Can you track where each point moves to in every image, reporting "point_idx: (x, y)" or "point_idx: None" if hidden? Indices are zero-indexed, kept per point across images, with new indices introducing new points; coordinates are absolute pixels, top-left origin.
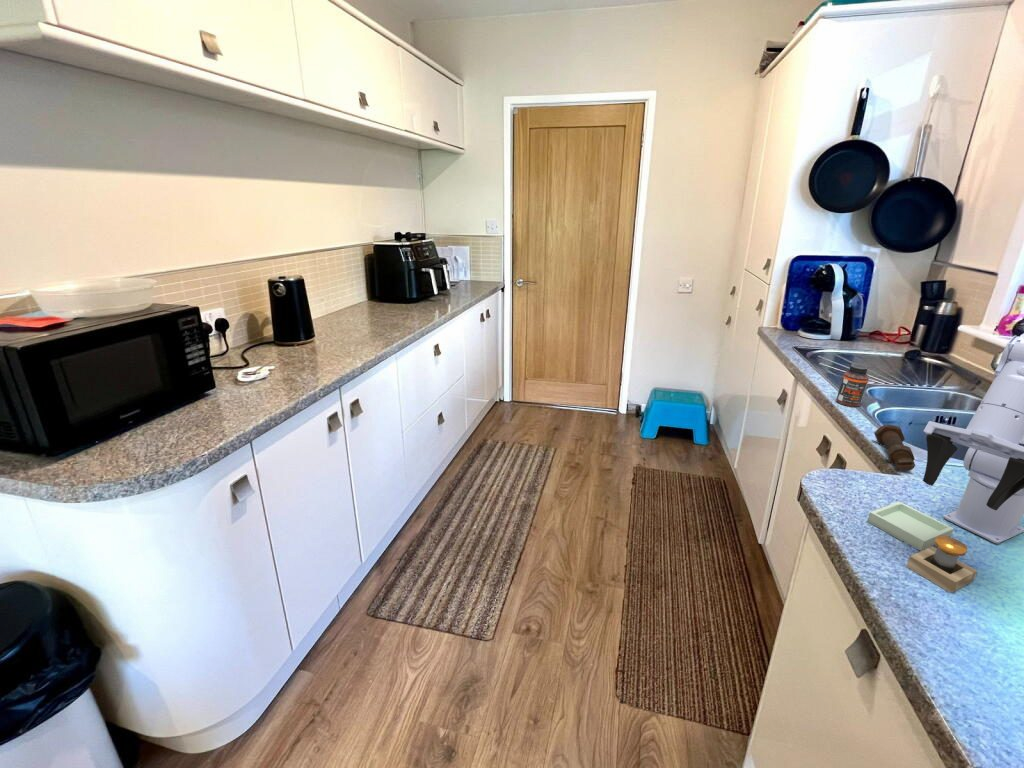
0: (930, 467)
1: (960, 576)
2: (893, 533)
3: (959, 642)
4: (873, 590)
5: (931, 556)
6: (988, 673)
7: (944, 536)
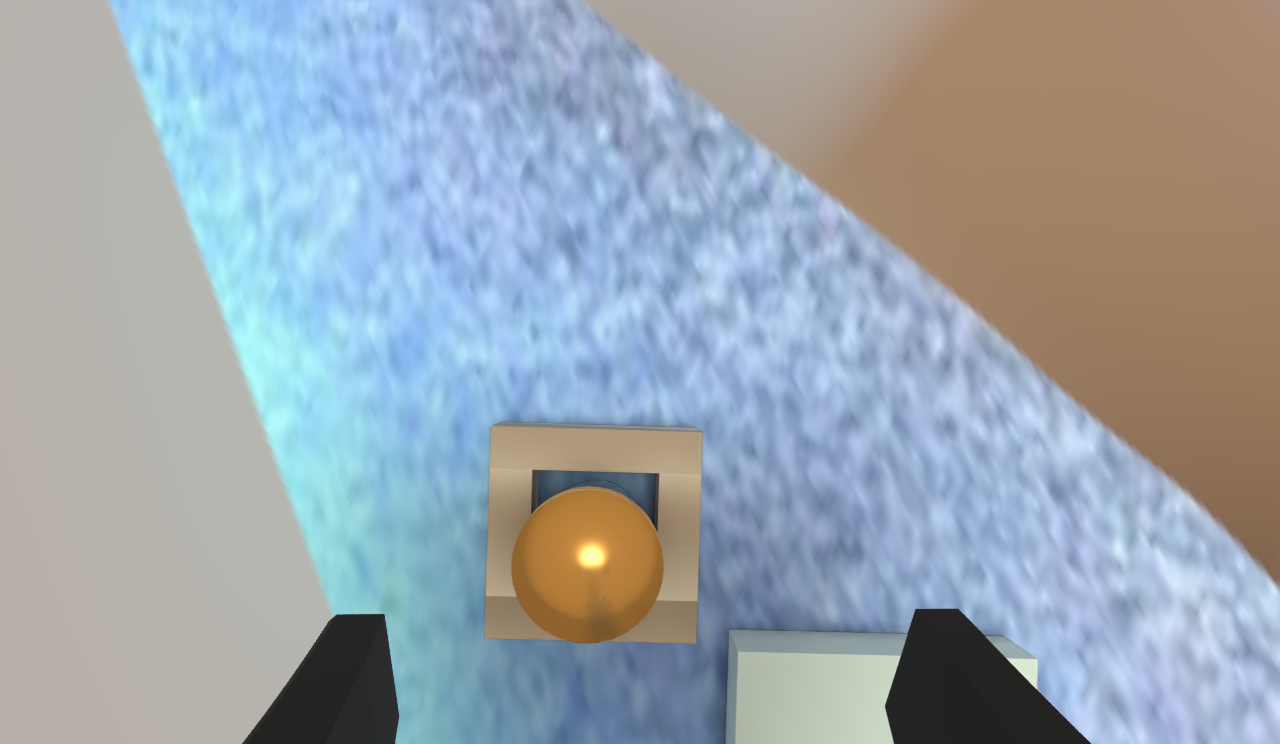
0: (1039, 733)
1: (502, 503)
2: (871, 636)
3: (337, 121)
4: (669, 100)
5: None
6: (210, 49)
7: (644, 606)
